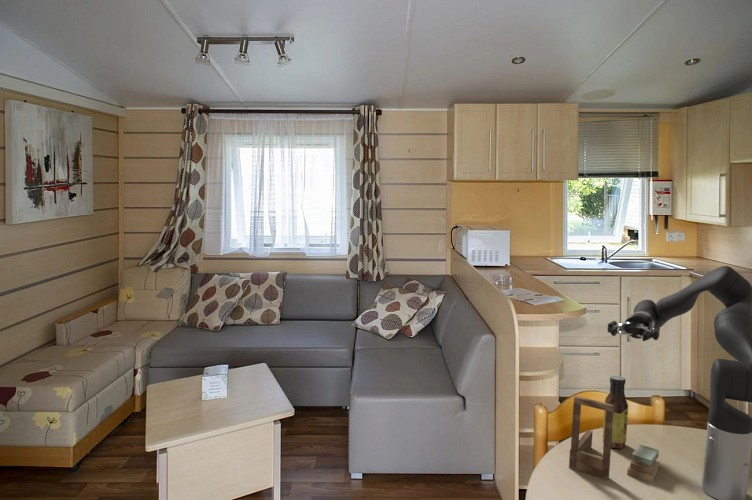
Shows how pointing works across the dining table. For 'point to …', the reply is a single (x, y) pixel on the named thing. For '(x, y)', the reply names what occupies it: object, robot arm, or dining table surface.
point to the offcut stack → (644, 463)
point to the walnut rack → (590, 441)
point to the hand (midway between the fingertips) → (628, 335)
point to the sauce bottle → (617, 411)
